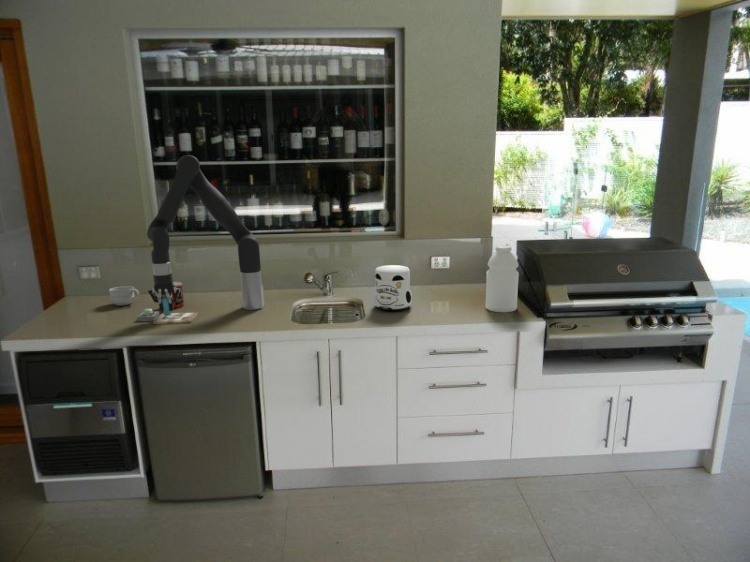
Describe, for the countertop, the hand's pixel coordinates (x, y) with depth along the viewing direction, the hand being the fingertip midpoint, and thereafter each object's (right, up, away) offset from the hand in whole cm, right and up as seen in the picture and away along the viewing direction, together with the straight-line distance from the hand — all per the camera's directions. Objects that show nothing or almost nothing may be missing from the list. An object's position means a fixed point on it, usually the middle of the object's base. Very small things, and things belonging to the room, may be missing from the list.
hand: (167, 310), depth 243 cm
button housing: (-9, -3, +2) cm, 9 cm away
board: (+4, -4, 0) cm, 5 cm away
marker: (0, -2, 0) cm, 2 cm away
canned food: (-3, +1, +18) cm, 19 cm away
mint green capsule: (-9, -3, +2) cm, 9 cm away
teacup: (-28, +2, +23) cm, 37 cm away
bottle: (+147, +1, +7) cm, 147 cm away
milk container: (+99, +1, +11) cm, 99 cm away
